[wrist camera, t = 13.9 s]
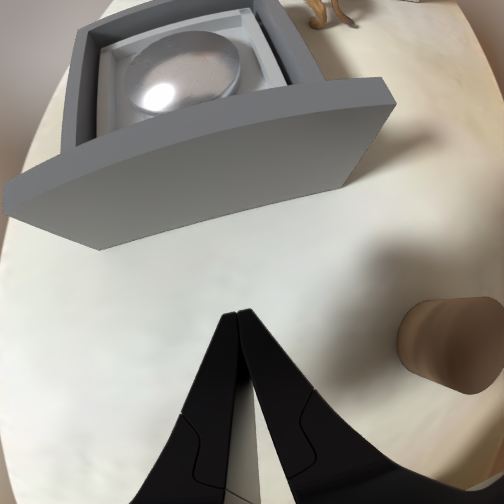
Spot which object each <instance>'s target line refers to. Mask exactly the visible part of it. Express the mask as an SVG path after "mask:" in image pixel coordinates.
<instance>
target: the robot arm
mask: <svg viewBox="0 0 504 504" xmlns="http://www.w3.org/2000/svg"><path fill="white" fill-rule="evenodd" d="M253 386H254V389H255V392H256V395H257V398H258V401H259V404H260V407H261V410H262V413H263V415H264V418H265V421H266V424H267V427H268V430H269V432H270V435H271V438H272V441H273V444H274V446H275V449H276V452H277V455H278V457H279V460H280V463H281V466H282V468H283V471H284V474H285V476H286V479H287V481H288V484H289V487H290V489H291V492H292V495H293V497H294V500H295V503H296V504H504V471H502V472H500V473H498V474H496V475H495V476H493V477H491V478H489V479H487V480H485V481H483V482H481V483H479V484H477V485H475V486H473V487H470V488H468V489H466V490H462V489H458V488H455V487H452V486H450V485H447V484H444V483H441V482H439V481H436V480H433V479H431V478H428V477H426V476H423V475H421V474H418V473H416V472H413V471H411V470H409V469H406V468H404V467H402V466H400V465H399V464H397V463H395V462H394V461H392V460H391V459H389V458H388V457H386V456H385V455H384V454H383V453H381V452H380V451H379V450H378V449H376V448H375V447H374V446H373V445H372V444H371V443H369V442H368V441H367V440H366V439H365V438H363V437H362V436H361V435H360V434H359V433H358V432H356V431H355V430H354V429H353V428H352V427H351V426H350V425H348V424H347V423H346V422H345V421H344V420H343V419H342V418H341V417H340V416H339V415H338V414H337V413H336V412H335V411H334V410H333V409H332V408H331V407H330V405H329V404H328V403H327V402H326V401H325V400H324V399H323V397H322V396H321V395H320V394H319V393H318V391H317V390H316V389H314V387H313V386H312V384H311V383H310V382H309V381H308V379H307V378H306V377H305V376H304V374H303V373H302V372H301V371H300V370H299V368H298V367H297V366H296V365H295V363H294V362H293V361H292V360H291V358H290V357H289V356H288V355H287V353H286V352H285V351H284V350H283V348H282V347H281V346H280V344H279V343H278V342H277V341H276V339H275V338H274V337H273V336H272V334H271V333H270V332H269V330H268V329H267V328H266V327H265V325H264V324H263V323H262V321H261V320H260V319H259V318H258V316H257V315H256V314H255V312H254V311H253V310H252V309H250V308H248V309H244V310H239V311H238V312H237V313H236V312H230V313H225V314H223V315H222V316H221V318H220V321H219V323H218V325H217V328H216V330H215V332H214V335H213V337H212V339H211V342H210V344H209V346H208V349H207V351H206V353H205V356H204V358H203V360H202V363H201V365H200V367H199V370H198V372H197V374H196V377H195V379H194V382H193V384H192V386H191V389H190V391H189V393H188V396H187V398H186V400H185V403H184V405H183V407H182V410H181V413H182V414H179V417H178V419H177V421H176V424H175V426H174V428H173V430H172V433H171V435H170V437H169V439H168V441H167V443H166V445H165V447H164V448H163V450H162V452H161V454H160V456H159V458H158V459H157V461H156V463H155V464H154V466H153V468H152V469H151V471H150V473H149V474H148V476H147V478H146V479H145V481H144V483H143V484H142V486H141V488H140V489H139V491H138V493H137V494H136V496H135V497H134V498H133V500H132V501H131V502H130V503H129V504H261V499H260V485H259V470H258V455H257V439H256V424H255V408H254V392H253Z"/></svg>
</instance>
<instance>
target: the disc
mask: <svg viewBox="0 0 504 504" xmlns="http://www.w3.org/2000/svg"><path fill="white" fill-rule="evenodd" d="M240 83H241V69H240V57H239V53H238V50H237V48H236V47H235V45H234V44H233V43H232V42H231V41H230V40H228V39H227V38H225V37H223V36H221V35H219V34H216V33H212V32H208V31H186V32H180V33H176V34H172V35H169V36H166V37H164V38H161V39H159V40H157V41H155V42H154V43H152V44H150V45H149V46H148V47H146V48H145V49H143V50H142V51H141V52H140V53H139V54H138V55H137V56H136V57H135V58H134V59H133V61H132V62H131V64H130V65H129V67H128V69H127V71H126V74H125V77H124V89H125V93H126V95H127V96H128V98H129V100H130V101H131V103H132V105H133V106H134V108H135V110H136V111H137V113H138V114H139V115H140V116H141V117H142V118H144V119H145V120H146V119H149V118H152V117H156V116H159V115H162V114H165V113H168V112H172V111H175V110H178V109H182V108H185V107H189V106H193V105H196V104H200V103H204V102H208V101H212V100H216V99H220V98H225V97H229V96H233V95H236V93H237V91H238V90H239V87H240Z"/></svg>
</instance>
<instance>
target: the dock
mask: <svg viewBox="0 0 504 504" xmlns="http://www.w3.org/2000/svg"><path fill="white" fill-rule="evenodd" d="M244 8H250V9H251V11H252V13H253V15H254V17H255V19H256V21H257V23H258V25H259V27H260V29H261V31H262V33H263V35H264V37H265V39H266V41H267V43H268V45H269V47H270V49H271V51H272V53H273V55H274V57H275V59H276V62H277V64H278V66H279V68H280V70H281V73H282V75H283V77H284V79H285V81H286V84H287V86H288V85H295V84H302V83H310V82H319V81H326V80H325V78H324V76H323V74H322V72H321V71H320V69H319V67H318V65H317V63H316V61H315V60H314V58H313V56H312V54H311V52H310V51H309V49H308V47H307V45H306V44H305V42H304V40H303V39H302V37H301V35H300V34H299V32H298V30H297V29H296V27H295V25H294V24H293V22H292V21H291V19H290V18H289V16H288V14H287V13H286V11H285V10H284V8H283V7H282V5H281V4H280V2H279V1H278V0H152V1H149V2H146V3H143V4H140V5H137V6H134V7H131V8H129V9H126V10H123V11H120V12H118V13H115V14H113V15H110V16H108V17H105V18H103V19H101V20H98V21H96V22H94V23H92V24H89V25H87V26H85V27H83V28H81V29H79V30H78V31H77V35H76V39H75V44H74V48H73V54H72V58H71V63H70V69H69V75H68V81H67V88H66V95H65V103H64V112H63V122H62V135H61V152H60V154H61V153H63V152H66V151H68V150H70V149H72V148H74V147H77V146H79V145H81V144H84V143H86V142H88V141H91V140H93V139H95V138H97V94H98V77H99V64H100V54H101V49H102V48H104V47H107V46H109V45H111V44H114V43H116V42H119V41H122V40H124V39H127V38H130V37H132V36H135V35H138V34H141V33H144V32H147V31H150V30H153V29H156V28H159V27H163V26H166V25H170V24H173V23H177V22H181V21H184V20H188V19H193V18H197V17H201V16H206V15H210V14H215V13H220V12H226V11H231V10H237V9H244Z"/></svg>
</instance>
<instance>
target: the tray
mask: <svg viewBox="0 0 504 504" xmlns="http://www.w3.org/2000/svg"><path fill="white" fill-rule="evenodd" d="M186 31H208V32H212V33H216V34H219V35H221V36H223V37H225V38H227V39H228V40H230V41H231V42H232V43H233V44H234V45H235V47H236V48H237V50H238V53H239V57H240V69H241V83H240V87H239V90H238V91H237V93H236V95H233V96H229V97H225V98H220V99H216V100H212V101H208V102H204V103H200V104H196V105H193V106H189V107H185V108H182V109H178V110H175V111H172V112H168V113H165V114H162V115H159V116H156V117H152V118H149V119H146V120H145V119H144V118H142V117H141V116H140V115H139V114H138V113H137V111H136V110H135V108H134V106H133V105H132V103H131V101H130V100H129V98H128V96H127V95H126V93H125V89H124V77H125V74H126V71H127V69H128V67H129V65H130V64H131V62H132V61H133V59H134V58H135V57H136V56H137V55H138V54H139V53H140V52H141V51H142V50H143V49H145V48H146V47H148V46H149V45H150V44H152V43H154V42H155V41H157V40H159V39H161V38H164V37H166V36H169V35H172V34H176V33H180V32H186ZM396 104H397V103H396V101H395V100H394V98H393V96H392V94H391V92H390V91H389V89H388V87H387V86H386V84H385V82H384V80H383V79H382V77H370V78H352V79H339V80H328V81H319V82H310V83H302V84H295V85H288V86H287V84H286V81H285V79H284V77H283V75H282V73H281V70H280V68H279V66H278V64H277V62H276V59H275V57H274V55H273V53H272V51H271V49H270V47H269V45H268V43H267V41H266V39H265V37H264V35H263V33H262V31H261V29H260V27H259V25H258V23H257V21H256V19H255V17H254V15H253V13H252V11H251V9H250V8H244V9H237V10H231V11H226V12H220V13H215V14H210V15H206V16H201V17H197V18H193V19H188V20H184V21H181V22H177V23H173V24H170V25H166V26H163V27H159V28H156V29H153V30H150V31H147V32H144V33H141V34H138V35H135V36H132V37H130V38H127V39H124V40H122V41H119V42H116V43H114V44H111V45H109V46H107V47H104V48H102V49H101V54H100V64H99V77H98V94H97V138H95V139H93V140H91V141H88V142H86V143H84V144H81V145H79V146H77V147H74V148H72V149H70V150H68V151H66V152H63V153H61V154H59V155H57V156H55V157H53V158H51V159H49V160H47V161H45V162H43V163H41V164H39V165H37V166H35V167H33V168H31V169H29V170H28V171H26V172H24V173H22V174H20V175H18V176H17V177H15V178H13V179H11V180H10V181H8V182H6V183H4V189H3V206H2V207H3V209H2V213H3V214H5V215H7V216H10V217H12V218H15V219H17V220H20V221H22V222H25V223H27V224H30V225H32V226H35V227H37V228H40V229H42V230H45V231H48V232H50V233H53V234H55V235H58V236H61V237H63V238H66V239H69V240H71V241H74V242H77V243H80V244H82V245H85V246H88V247H90V248H93V249H96V250H103V249H106V248H109V247H113V246H116V245H119V244H123V243H126V242H129V241H133V240H136V239H140V238H143V237H147V236H150V235H154V234H157V233H161V232H164V231H168V230H171V229H175V228H179V227H182V226H186V225H190V224H193V223H197V222H201V221H205V220H208V219H212V218H216V217H220V216H224V215H228V214H232V213H236V212H239V211H243V210H247V209H252V208H256V207H260V206H264V205H268V204H272V203H276V202H280V201H285V200H289V199H293V198H298V197H302V196H306V195H311V194H315V193H320V192H324V191H329V190H333V189H338V188H341V187H342V185H343V184H344V182H345V181H346V179H347V178H348V177H349V175H350V174H351V172H352V171H353V169H354V168H355V166H356V165H357V163H358V162H359V160H360V159H361V157H362V156H363V154H364V153H365V152H366V150H367V149H368V147H369V146H370V144H371V143H372V141H373V140H374V138H375V137H376V135H377V134H378V132H379V131H380V129H381V127H382V126H383V124H384V123H385V121H386V120H387V118H388V117H389V115H390V114H391V112H392V111H393V109H394V108H395V106H396Z"/></svg>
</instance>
